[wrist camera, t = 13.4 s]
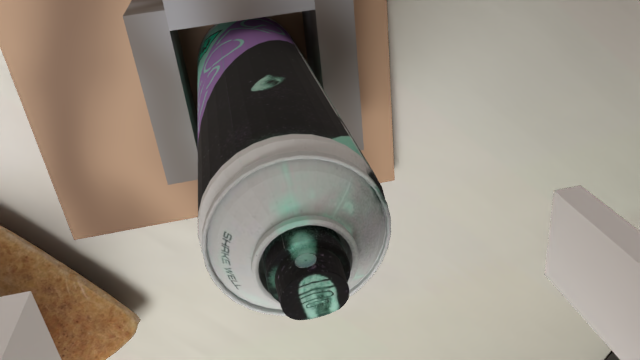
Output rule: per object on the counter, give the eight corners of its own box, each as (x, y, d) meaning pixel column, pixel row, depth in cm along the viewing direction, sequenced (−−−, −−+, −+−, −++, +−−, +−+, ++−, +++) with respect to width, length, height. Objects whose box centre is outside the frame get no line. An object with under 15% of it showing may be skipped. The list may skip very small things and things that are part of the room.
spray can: (246, -11, 29) (321, 150, 12) (318, 61, 31) (467, 283, 14) (175, 64, 30) (146, 315, 13) (249, 128, 32) (311, 411, 15)
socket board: (374, -97, 30) (412, -93, 24) (387, 169, 37) (418, 216, 32) (-24, -47, 27) (-76, -31, 22) (78, 226, 35) (57, 286, 30)
